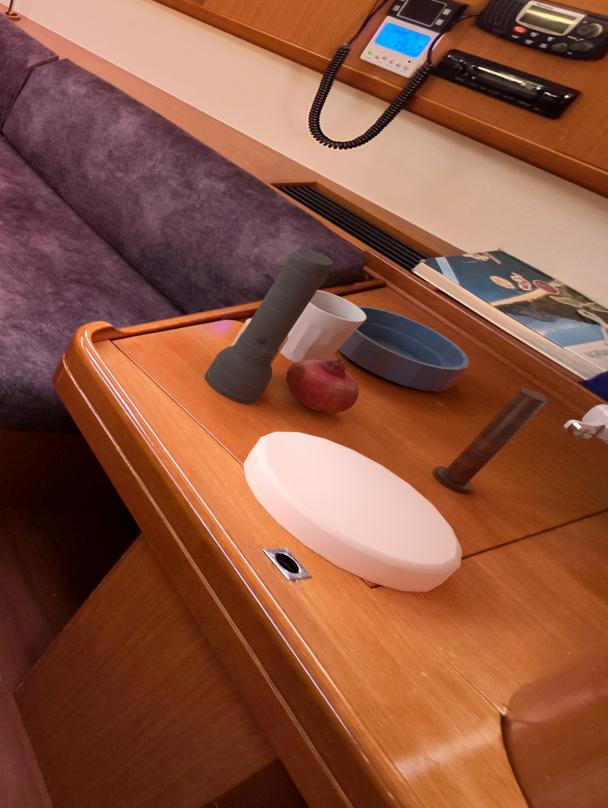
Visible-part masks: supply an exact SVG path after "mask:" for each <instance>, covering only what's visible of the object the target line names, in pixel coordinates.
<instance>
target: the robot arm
mask: <svg viewBox="0 0 608 808" xmlns="http://www.w3.org/2000/svg"><path fill="white" fill-rule="evenodd" d="M563 428H564V429H565V430H566V431H567V432H568V433H569V434H571V436H573V437H575V438H581V439H583V440H587V441H589V440H590V439H591V438H592V436H595V437H596V438H597V439H599V440H602V441H603V442H604V443H605V444H606V445H608V404H603V403H602V404H597V405H594V406H593V407H592V408H591V409H589V410H588V411H587V412H586V414H584V415H583V416H582V418H581V420H577V419H569V420H567V421H566V422H565V424H563Z"/></svg>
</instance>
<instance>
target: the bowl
mask: <svg viewBox="0 0 608 808" xmlns="http://www.w3.org/2000/svg"><path fill="white" fill-rule="evenodd" d="M356 306H357V307H359V308H360V309H361V310H362V311H363V312H364V313H365V315H366V320H365V321H364V322H363V323H362V324H361V325H360V326H359V327H358V328H357V329H356V330H355V331H354V332H353V334H352V335H351V336H350V337H349V338H348V339H347V340H346V341H345V342H344V343H343V344H342V346H341V347H340V348H339V349H338V350H337V351H339V352H340V353H341V354H342V355H344V357H346V358H347V359H349V360H350V361H351V362H354V363H355V364H356V365H357V366H358V365H359V366H360V367H361V368H362V369H365V370H367V371H368V372H370V373H372V374H374V375H377V376H378V377H380V378H383V379H385V380H388V381H390V382H394V383H396V384H398V385H400V386H401V385H402V386H404V387H407V388H411V389H416V390H420V391H425V392H442V391H446V390H449V389H450V388H451V387H452V386H453V385H454V383H455V382H456V381H457V380H458V379H459V378H460V376H461V375H462V374H463V373H464V372H465V371H466V370H467V368H468V366H469V365H470V364H469V363H470V360H469V358H468V356H467V354H466V352H465V351H464V350H462V348H460V347H459V346H458V345H457V344H456V343H455V342H453V341H452V340H451V339H449V338H448V337H446V336H445V335H443V334H442V333H440V332H438V331H437V330H435V329H433V328H431V327H429V326H427V325H425V324H423V323H421V322H418V321H417V320H414V319H412V318H409V317H407V316H405V315H401V314H400V313H396V312H393V311H389V310H387V309H382V308H378V307H373V306H370V305H369V306H368V305H356Z"/></svg>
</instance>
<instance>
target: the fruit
mask: <svg viewBox="0 0 608 808" xmlns="http://www.w3.org/2000/svg"><path fill="white" fill-rule="evenodd" d="M346 369H347V367H346V365H345V363H344V362H343V360H342V359H338V358H332V359H331V358H330V359H329V360H328V361H322V360H305V361H300V362H296V363H294V362H293V363H291V365H290V366H289V367H288V369H287V372H286V375H285V381H286V385H287V387H288V390H289V391H290V393H291V394H292V395H293V397H294V398H295V399H296V401H298V402H299V403H300V404H301V405H302V406H303V407H306V408H307V409H308V408H309V409H310V410H312V411H318V412H323V413H332V414H337V413H341V412H344V411H347V410H349V409H351V408H352V407H353V406H354V405H355V404H356V402H357V401H358V398H359V394H360V393H359V392H360V389H359V385H358V383H357V382H356V380H355V378H354V377H353V376H352V375H351V374H350V373H349V372H348V371H346Z"/></svg>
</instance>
